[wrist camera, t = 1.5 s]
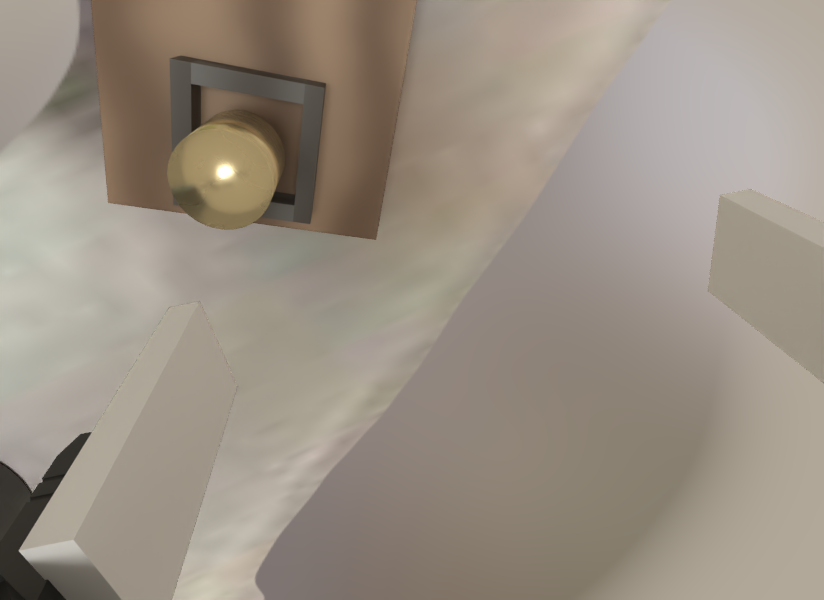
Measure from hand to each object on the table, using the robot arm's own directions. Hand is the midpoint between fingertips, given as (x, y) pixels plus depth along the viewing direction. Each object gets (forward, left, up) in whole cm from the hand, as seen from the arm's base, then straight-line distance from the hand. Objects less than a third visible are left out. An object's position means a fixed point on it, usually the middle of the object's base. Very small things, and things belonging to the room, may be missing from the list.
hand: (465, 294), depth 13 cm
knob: (-8, -2, -16) cm, 19 cm away
